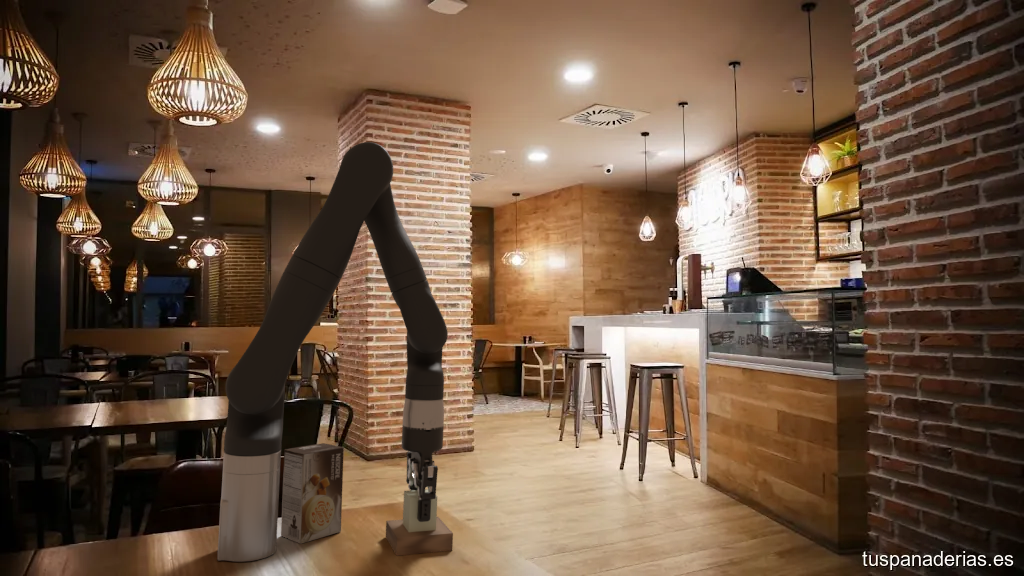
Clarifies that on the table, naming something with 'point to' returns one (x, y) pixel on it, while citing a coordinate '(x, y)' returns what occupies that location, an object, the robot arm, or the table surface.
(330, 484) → the coffee box
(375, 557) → the table surface
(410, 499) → the sage block
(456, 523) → the table surface
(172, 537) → the table surface
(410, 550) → the walnut plinth
